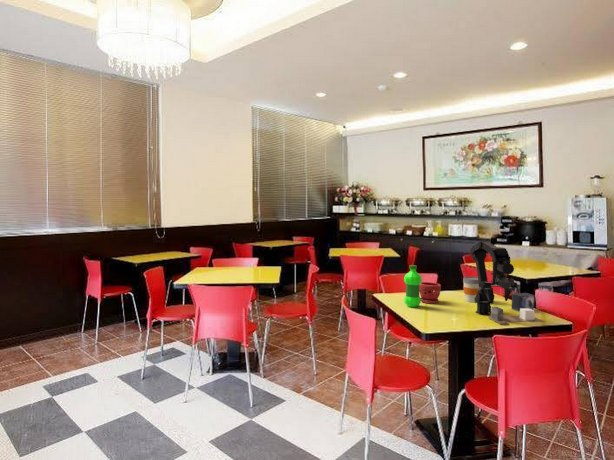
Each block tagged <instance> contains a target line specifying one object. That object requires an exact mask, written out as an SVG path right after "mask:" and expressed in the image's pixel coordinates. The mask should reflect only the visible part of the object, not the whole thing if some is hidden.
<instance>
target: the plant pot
mask: <svg viewBox="0 0 614 460" xmlns="http://www.w3.org/2000/svg"><path fill="white" fill-rule="evenodd" d="M441 287H442V285H441V284H440V283H436V282H431V281H430V282H428V281H426V282H425V281H423V282H421V284H420V287H419V297H420V299H421V302H422V303H424V304H437V303H438V302H439V301H440V299H439V297H440V296H441V295H440V294H441V289H442V288H441Z"/></svg>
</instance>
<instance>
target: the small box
mask: <svg viewBox="0 0 614 460" xmlns="http://www.w3.org/2000/svg"><path fill="white" fill-rule="evenodd" d="M511 294H512V295H511V296H512V297H511V310H513V311H517V312H519V313H520V308H529V309H532V310H534V311H535V295H534V294H531V293H528V292H523V293H522V292H518V293H511Z"/></svg>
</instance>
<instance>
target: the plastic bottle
mask: <svg viewBox="0 0 614 460" xmlns="http://www.w3.org/2000/svg"><path fill="white" fill-rule="evenodd" d="M409 269H410V271H408V272H407V273H406V274H405V275H404V277H403V282H404V283H405V295H404V296H405V297H404V298H403V299H404V300H403V301H404V304H405V305H406V306H407V307H408V308H417V307H418V306H419V305H420V304H421V302H422V301H421V299H420V298H421V296H420V291H419V287H420V284H421V282H422V281H423V278H422V275H420V273H418V272H417V269H418V268H417V265H414V264H410V265H409Z"/></svg>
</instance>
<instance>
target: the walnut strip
mask: <svg viewBox="0 0 614 460" xmlns="http://www.w3.org/2000/svg"><path fill="white" fill-rule="evenodd" d="M490 314H491V315H487V316H488V318H487V319H490V320H491V321H493V322H495V323H497V324H499V325H510V323H544V322H545V321H544V320H542V319H539V318H537V317H535V316H534V320H524V319H522V318H520V315H504V308H501V307H499V306H491V312H490Z"/></svg>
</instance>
